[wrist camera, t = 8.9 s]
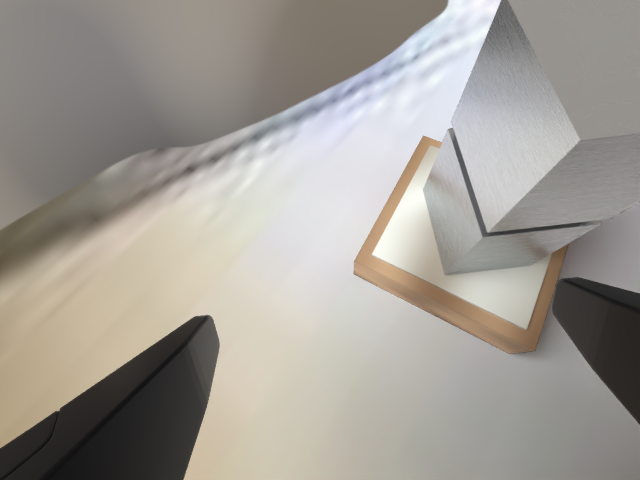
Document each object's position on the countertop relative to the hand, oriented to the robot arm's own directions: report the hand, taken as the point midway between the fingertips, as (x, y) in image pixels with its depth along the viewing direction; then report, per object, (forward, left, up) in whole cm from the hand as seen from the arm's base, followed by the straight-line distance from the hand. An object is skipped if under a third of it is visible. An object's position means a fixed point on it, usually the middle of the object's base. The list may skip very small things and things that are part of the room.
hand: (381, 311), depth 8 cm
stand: (-3, -10, -14) cm, 17 cm away
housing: (-3, -10, -10) cm, 14 cm away
